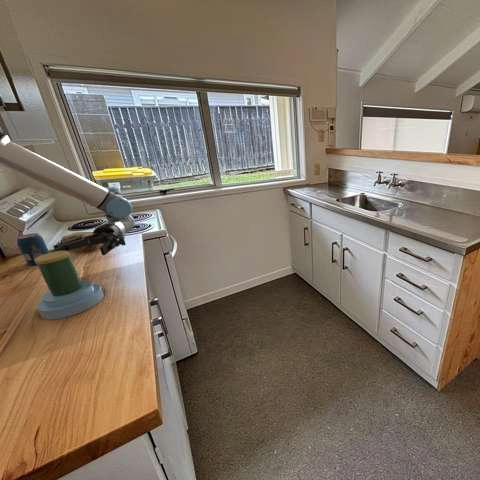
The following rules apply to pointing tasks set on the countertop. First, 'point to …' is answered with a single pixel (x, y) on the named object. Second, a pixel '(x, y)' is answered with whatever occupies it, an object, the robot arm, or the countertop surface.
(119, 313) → the countertop surface
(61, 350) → the countertop surface
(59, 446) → the countertop surface
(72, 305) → the upturned bowl
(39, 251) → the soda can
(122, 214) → the robot arm
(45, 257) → the tea tin
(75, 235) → the sponge
